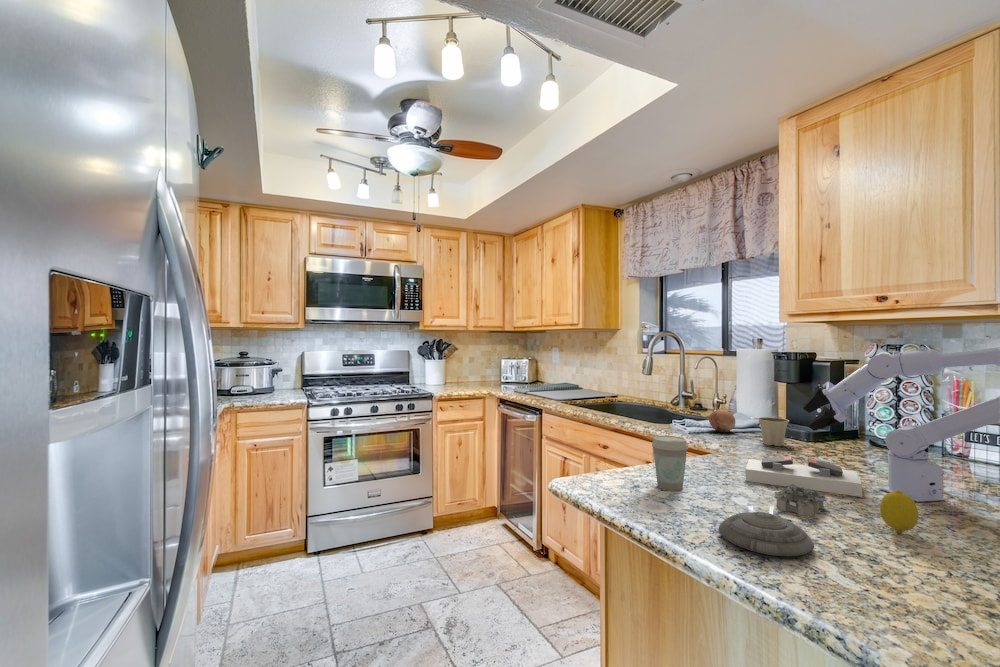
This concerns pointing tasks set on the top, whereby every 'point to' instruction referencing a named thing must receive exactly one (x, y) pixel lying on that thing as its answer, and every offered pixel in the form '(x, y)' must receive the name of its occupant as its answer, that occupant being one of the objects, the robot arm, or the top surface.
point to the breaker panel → (804, 477)
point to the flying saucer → (766, 534)
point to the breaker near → (825, 466)
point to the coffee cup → (670, 461)
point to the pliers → (828, 461)
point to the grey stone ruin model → (799, 500)
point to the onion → (722, 420)
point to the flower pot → (773, 430)
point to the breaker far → (777, 461)
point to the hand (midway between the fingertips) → (808, 418)
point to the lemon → (899, 511)
